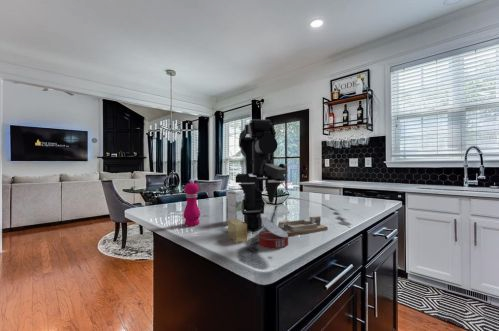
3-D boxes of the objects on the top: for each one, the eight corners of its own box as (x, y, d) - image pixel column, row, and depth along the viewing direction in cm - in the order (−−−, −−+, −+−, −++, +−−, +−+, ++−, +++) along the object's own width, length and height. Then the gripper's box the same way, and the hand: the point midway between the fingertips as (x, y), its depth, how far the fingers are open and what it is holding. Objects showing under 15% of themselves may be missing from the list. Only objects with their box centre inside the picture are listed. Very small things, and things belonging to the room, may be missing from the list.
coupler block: (236, 243, 82) (236, 225, 82) (228, 236, 89) (227, 220, 89) (247, 241, 84) (246, 224, 84) (238, 235, 91) (238, 219, 91)
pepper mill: (203, 223, 108) (203, 178, 108) (191, 227, 102) (191, 179, 102) (192, 221, 112) (191, 178, 112) (180, 225, 106) (179, 179, 106)
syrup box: (234, 219, 115) (233, 189, 115) (243, 221, 112) (243, 189, 112) (226, 222, 111) (225, 190, 110) (236, 224, 107) (235, 191, 107)
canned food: (271, 251, 86) (279, 224, 90) (291, 257, 78) (299, 227, 81) (246, 242, 81) (256, 213, 84) (265, 247, 73) (275, 215, 76)
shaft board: (270, 230, 97) (270, 218, 97) (311, 224, 105) (311, 213, 105) (284, 236, 88) (284, 224, 88) (327, 229, 96) (327, 218, 96)
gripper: (260, 153, 69) (261, 209, 68) (297, 156, 82) (298, 202, 81) (233, 156, 77) (234, 206, 76) (271, 158, 90) (272, 200, 89)
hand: (262, 204), depth 80 cm, fingers open, 9 cm apart
